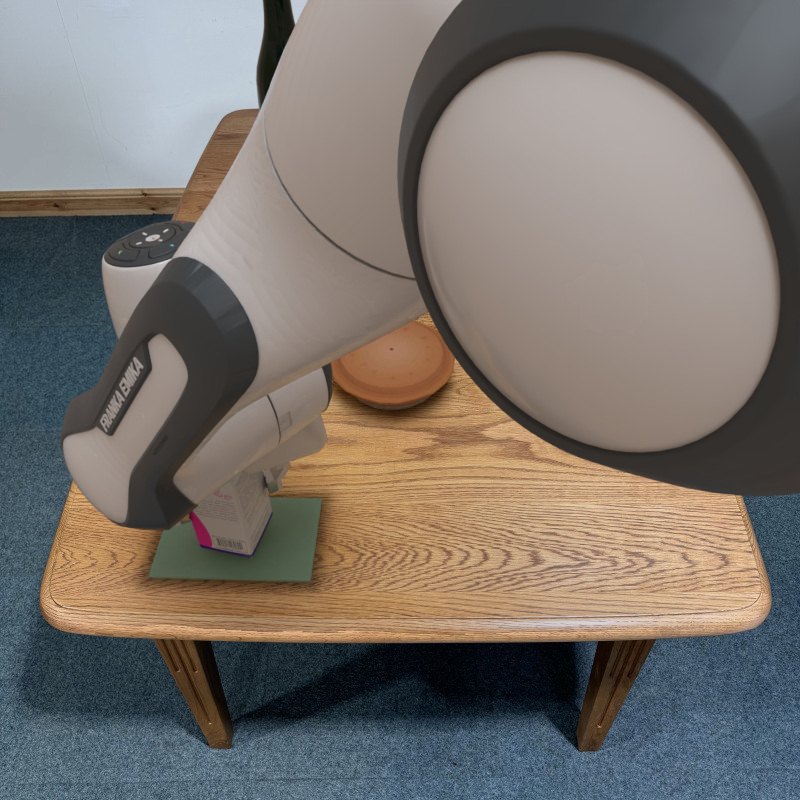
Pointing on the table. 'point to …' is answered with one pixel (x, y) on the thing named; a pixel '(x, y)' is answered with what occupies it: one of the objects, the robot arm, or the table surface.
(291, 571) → the sage mat
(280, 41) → the wine bottle
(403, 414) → the table surface
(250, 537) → the supplement box
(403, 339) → the pie
